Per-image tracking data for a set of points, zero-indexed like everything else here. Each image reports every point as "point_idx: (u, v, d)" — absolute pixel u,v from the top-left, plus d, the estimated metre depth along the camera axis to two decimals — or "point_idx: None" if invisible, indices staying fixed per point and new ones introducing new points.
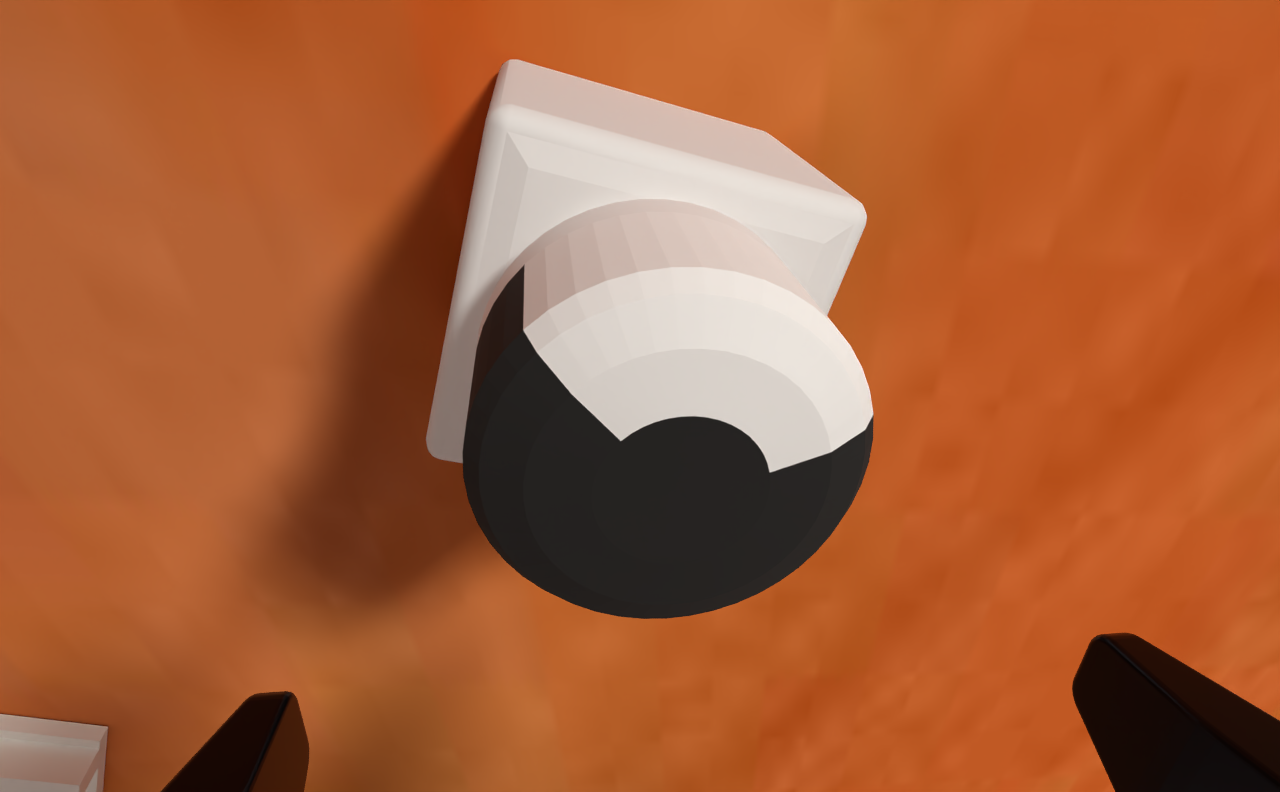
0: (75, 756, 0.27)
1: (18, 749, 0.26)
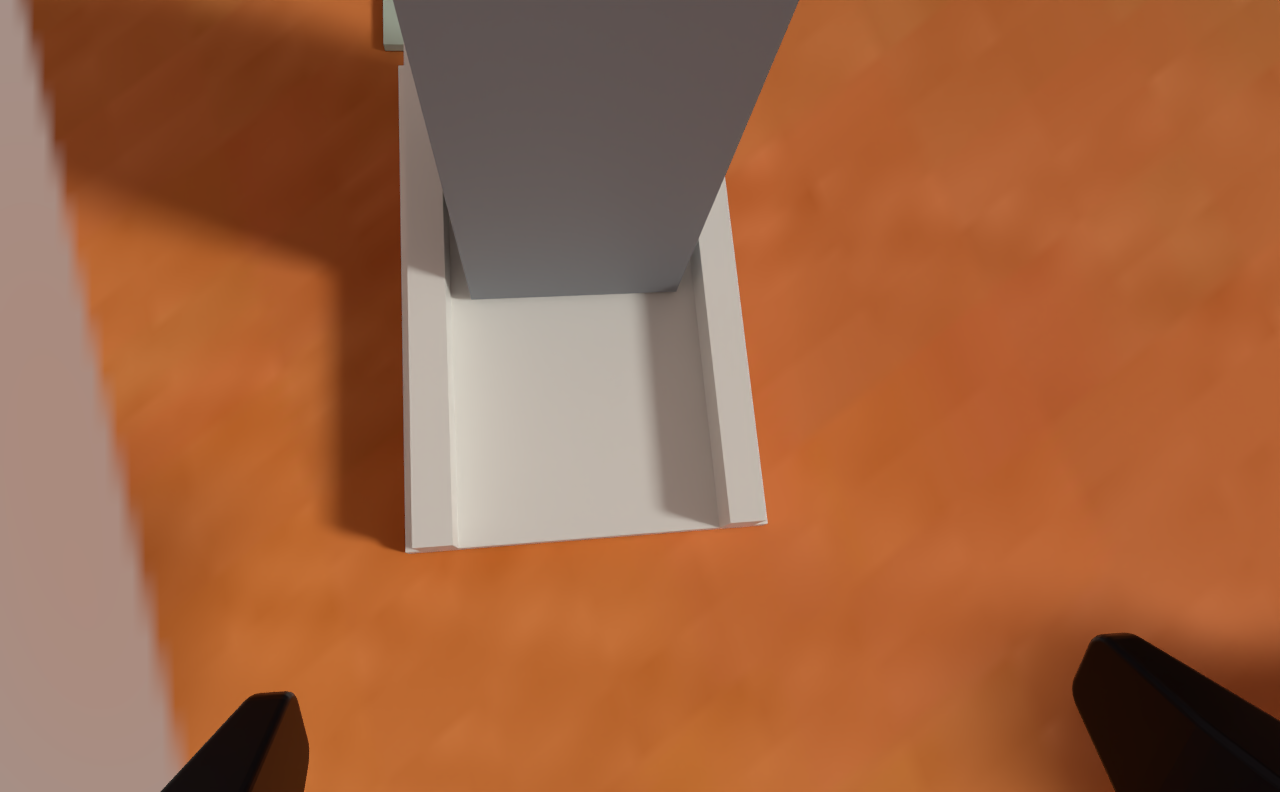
0: None
1: None
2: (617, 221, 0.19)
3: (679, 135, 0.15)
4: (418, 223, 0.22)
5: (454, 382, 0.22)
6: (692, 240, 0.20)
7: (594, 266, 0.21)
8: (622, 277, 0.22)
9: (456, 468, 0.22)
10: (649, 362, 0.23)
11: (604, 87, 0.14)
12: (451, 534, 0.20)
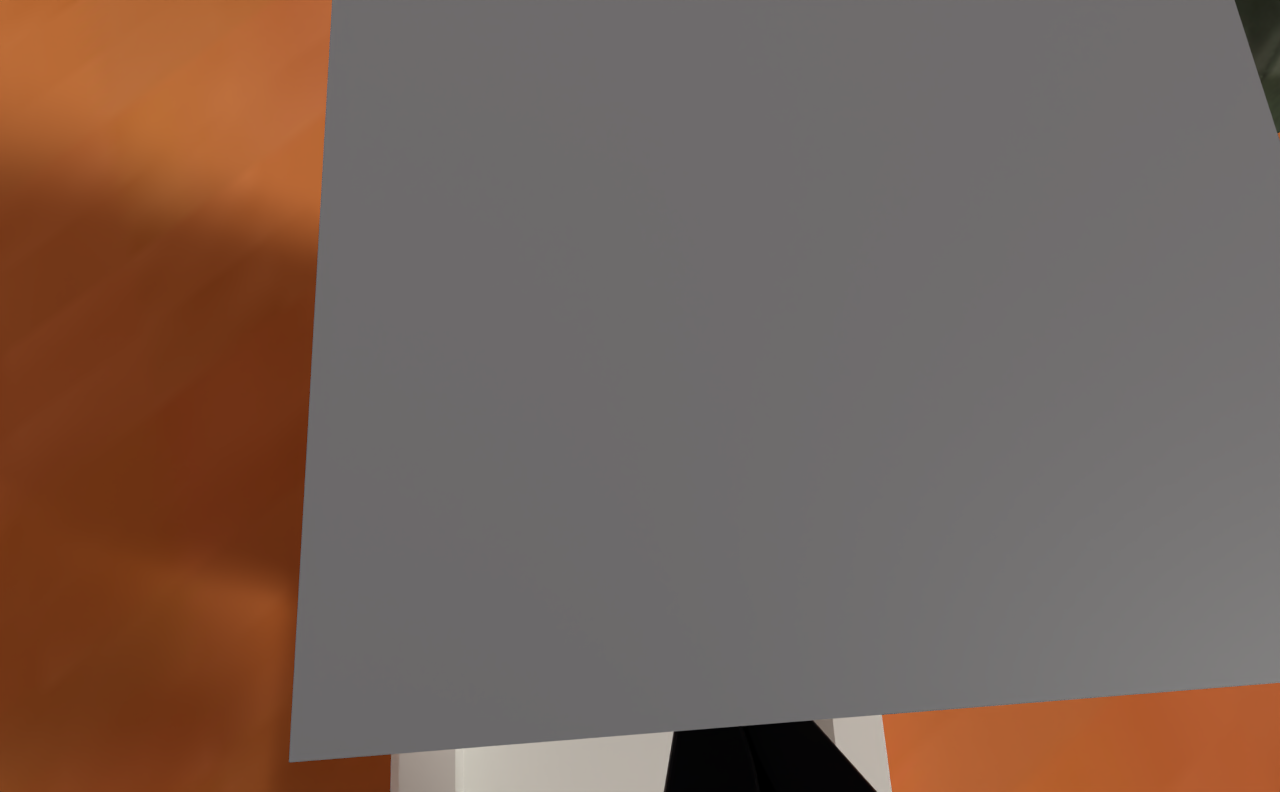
0: None
1: None
2: None
3: None
4: None
5: (464, 787, 0.15)
6: None
7: None
8: None
9: None
10: None
11: None
12: None
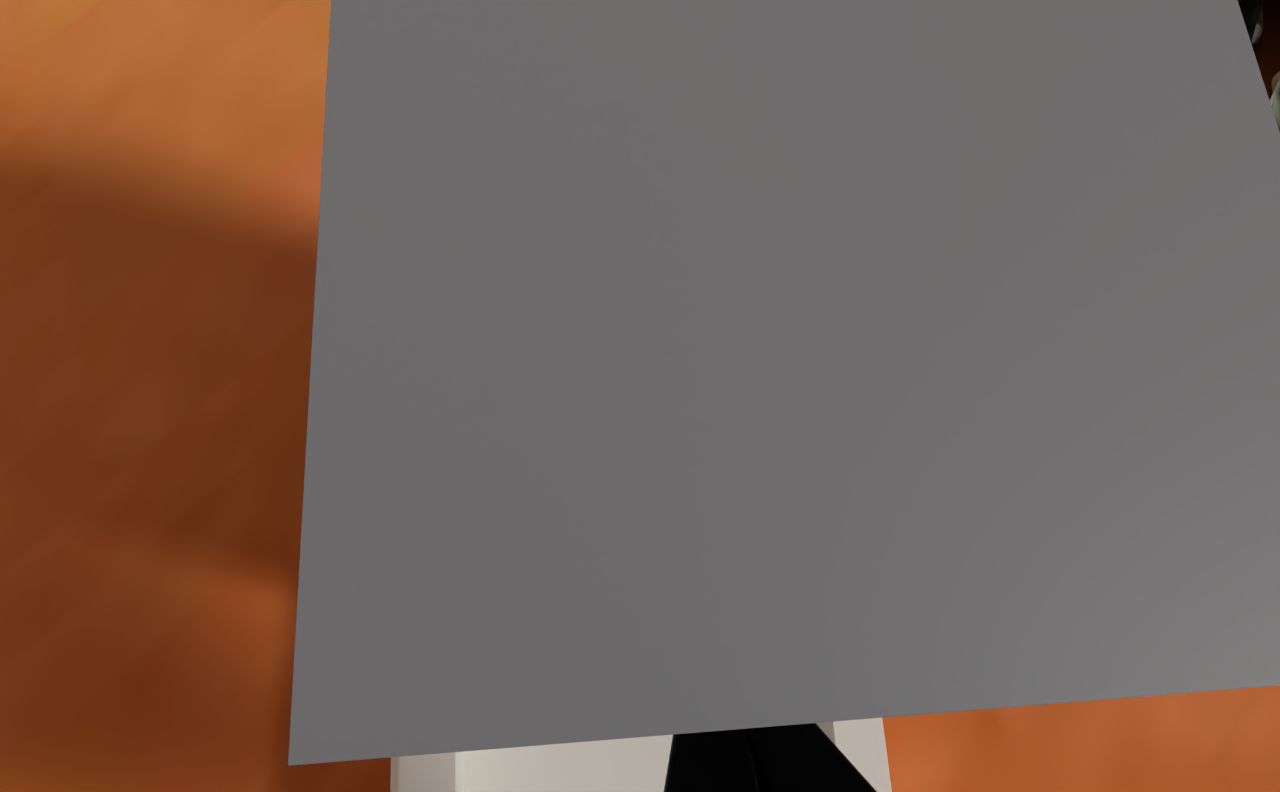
0: None
1: None
2: None
3: None
4: None
5: None
6: None
7: None
8: None
9: None
10: None
11: None
12: None
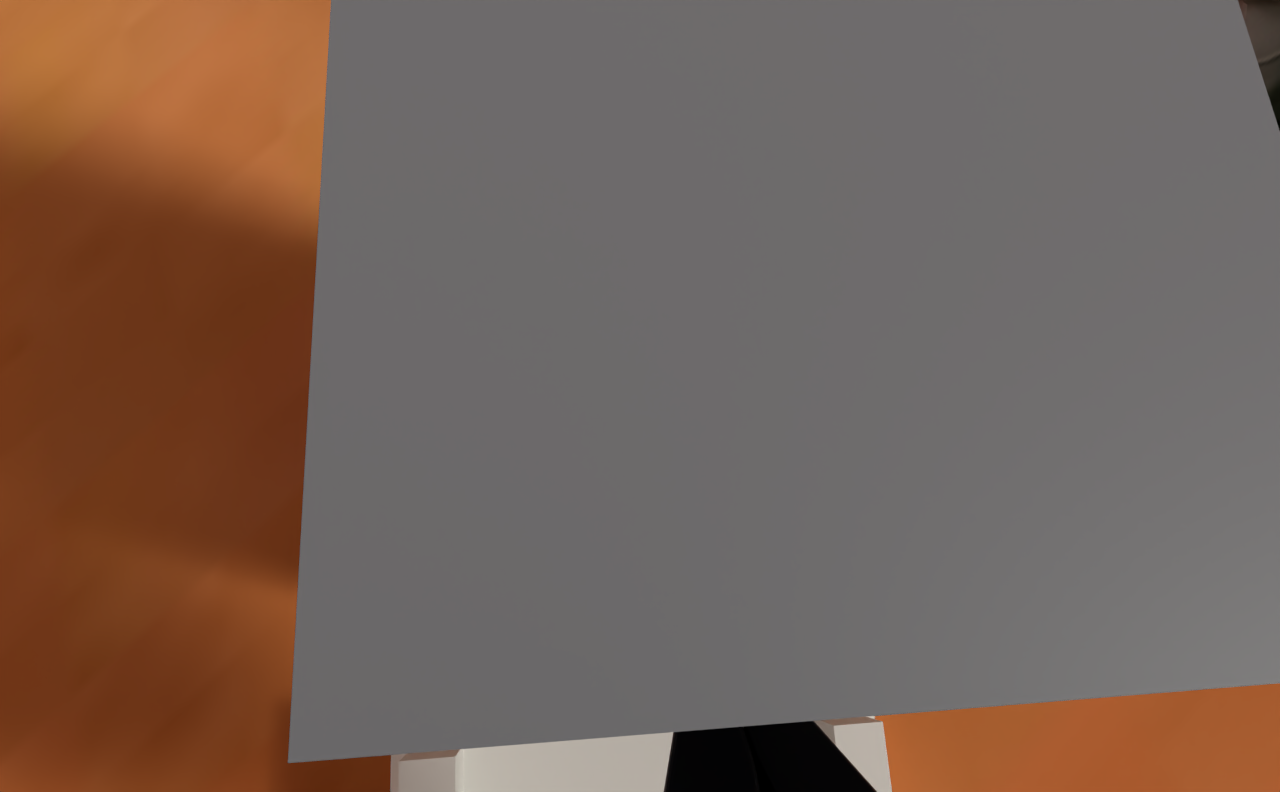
0: None
1: None
2: None
3: None
4: None
5: None
6: None
7: None
8: None
9: None
10: None
11: None
12: None
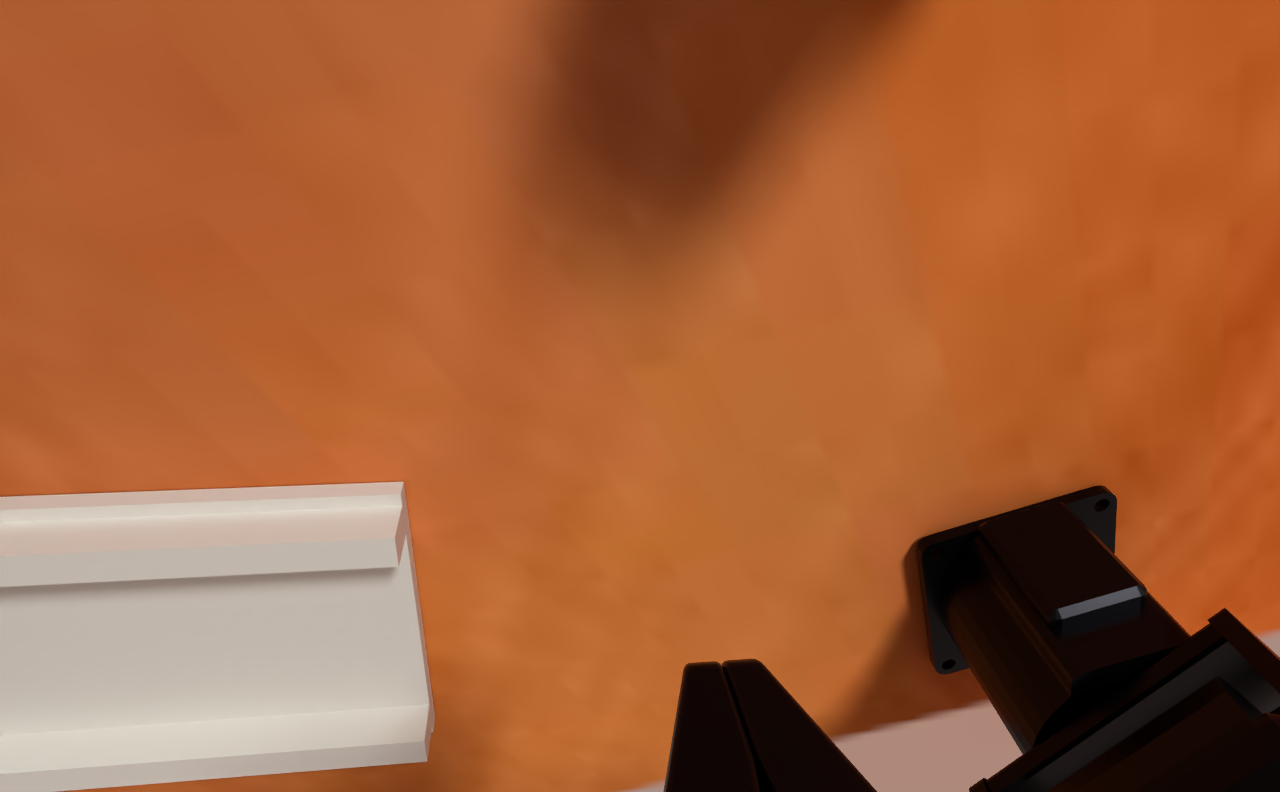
0: (378, 515, 0.22)
1: (313, 517, 0.21)
2: None
3: None
4: (129, 778, 0.24)
5: (282, 714, 0.25)
6: None
7: None
8: None
9: (361, 710, 0.26)
10: (236, 584, 0.23)
11: None
12: (415, 742, 0.25)
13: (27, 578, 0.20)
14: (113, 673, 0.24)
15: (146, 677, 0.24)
